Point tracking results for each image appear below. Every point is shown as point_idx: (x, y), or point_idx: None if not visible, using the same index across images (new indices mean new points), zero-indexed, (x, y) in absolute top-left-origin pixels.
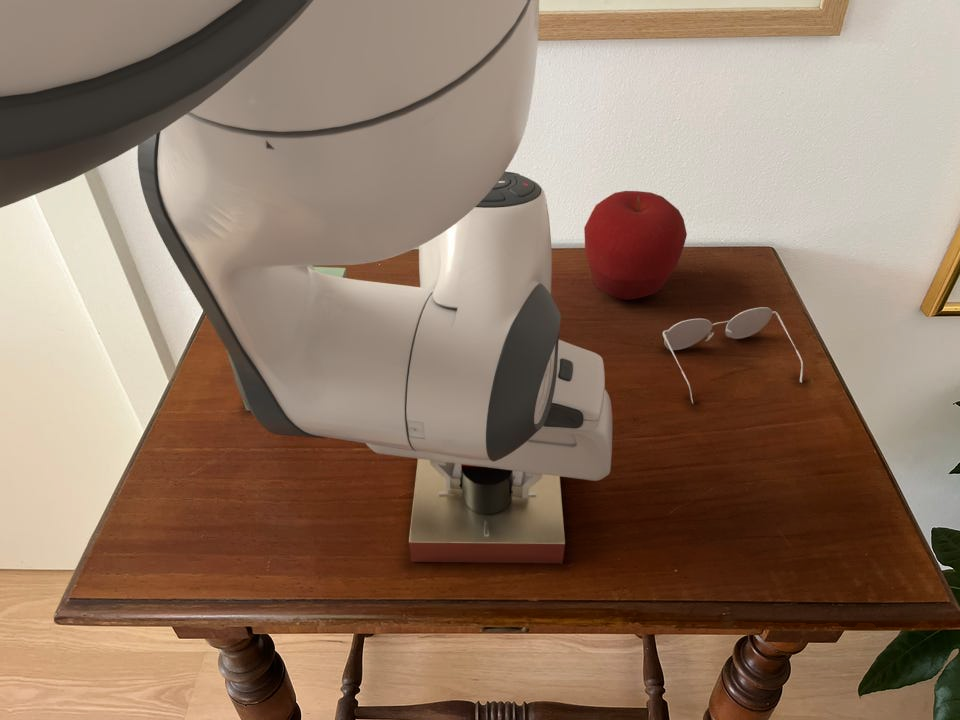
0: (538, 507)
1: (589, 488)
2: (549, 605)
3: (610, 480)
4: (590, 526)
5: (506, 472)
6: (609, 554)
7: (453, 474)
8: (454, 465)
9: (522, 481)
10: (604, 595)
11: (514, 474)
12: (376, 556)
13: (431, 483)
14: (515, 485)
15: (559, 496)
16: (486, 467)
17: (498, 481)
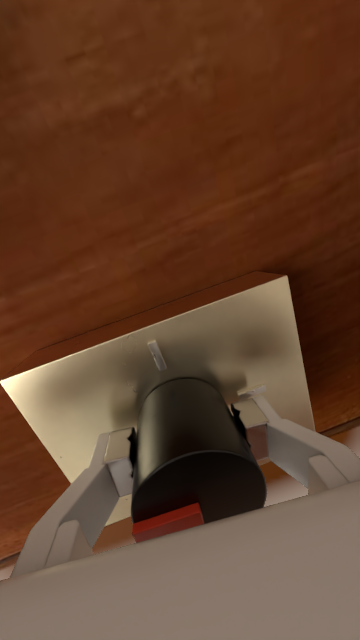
0: (271, 405)
1: (310, 283)
2: None
3: (340, 256)
4: (314, 347)
5: (255, 504)
6: (338, 375)
7: (119, 490)
8: (109, 472)
9: (271, 451)
10: (333, 422)
11: (248, 436)
12: (64, 486)
13: (75, 437)
14: (256, 458)
15: (302, 374)
16: (203, 514)
17: None
